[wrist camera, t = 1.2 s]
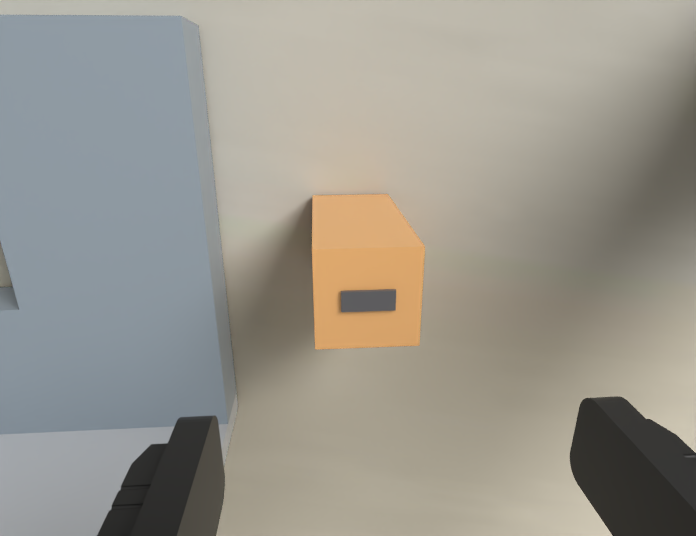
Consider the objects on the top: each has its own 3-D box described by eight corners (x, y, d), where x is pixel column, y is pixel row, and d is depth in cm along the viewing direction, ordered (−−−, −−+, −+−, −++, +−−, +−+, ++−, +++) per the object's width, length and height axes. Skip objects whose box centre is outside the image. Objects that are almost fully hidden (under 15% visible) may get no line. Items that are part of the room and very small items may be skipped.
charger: (387, 194, 25) (425, 248, 16) (385, 264, 26) (420, 347, 18) (312, 195, 25) (311, 250, 16) (314, 266, 26) (315, 351, 18)
